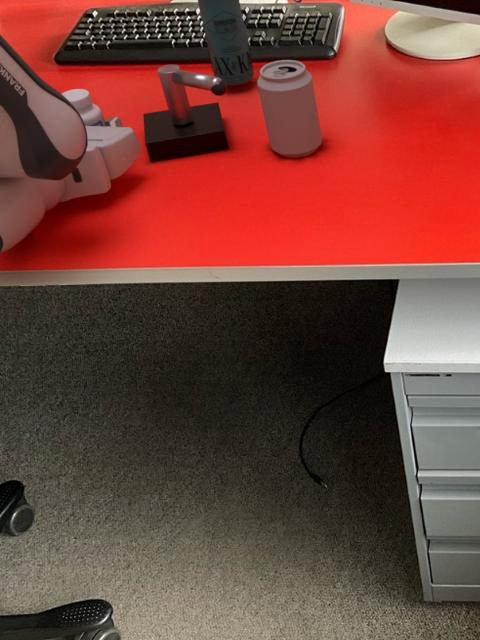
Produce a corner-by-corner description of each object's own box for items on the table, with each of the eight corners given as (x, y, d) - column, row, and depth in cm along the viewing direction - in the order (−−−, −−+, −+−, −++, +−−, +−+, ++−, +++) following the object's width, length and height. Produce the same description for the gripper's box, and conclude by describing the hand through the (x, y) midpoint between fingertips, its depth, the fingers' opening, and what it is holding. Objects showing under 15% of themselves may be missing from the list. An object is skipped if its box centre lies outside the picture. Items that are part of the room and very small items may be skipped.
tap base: (151, 162, 128) (145, 143, 126) (148, 132, 135) (143, 113, 133) (229, 149, 130) (224, 130, 128) (222, 120, 137) (218, 102, 135)
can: (333, 141, 131) (320, 61, 123) (304, 164, 126) (289, 82, 118) (290, 132, 134) (275, 53, 126) (260, 154, 129) (243, 73, 121)
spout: (228, 136, 126) (215, 83, 121) (167, 123, 130) (152, 70, 125) (241, 127, 128) (229, 74, 123) (181, 114, 132) (167, 62, 127)
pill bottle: (83, 151, 131) (60, 86, 124) (120, 149, 131) (99, 85, 124) (72, 169, 127) (48, 104, 120) (111, 167, 127) (88, 102, 120)
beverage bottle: (210, 85, 147) (178, -43, 134) (246, 74, 150) (219, -53, 137) (228, 98, 143) (197, -33, 130) (265, 86, 146) (239, -43, 133)
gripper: (-28, 187, 119) (25, 138, 129) (118, 193, 117) (160, 143, 127) (-48, 143, 115) (8, 97, 125) (103, 149, 113) (148, 101, 123)
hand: (86, 120), depth 126 cm, fingers open, 8 cm apart
